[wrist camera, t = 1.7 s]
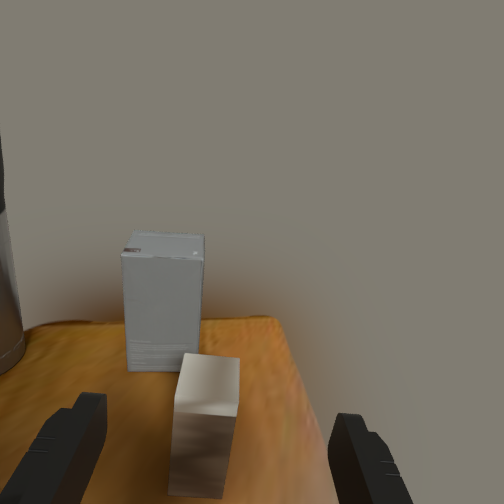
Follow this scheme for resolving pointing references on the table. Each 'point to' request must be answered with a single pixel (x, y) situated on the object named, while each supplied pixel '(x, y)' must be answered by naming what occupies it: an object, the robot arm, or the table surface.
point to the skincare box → (162, 298)
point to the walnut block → (203, 425)
